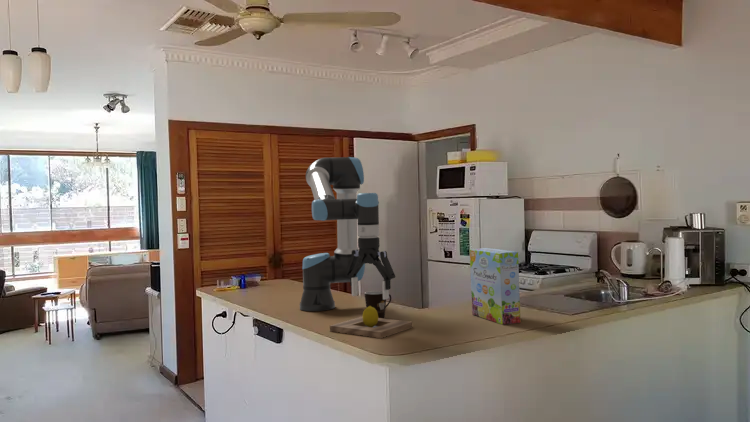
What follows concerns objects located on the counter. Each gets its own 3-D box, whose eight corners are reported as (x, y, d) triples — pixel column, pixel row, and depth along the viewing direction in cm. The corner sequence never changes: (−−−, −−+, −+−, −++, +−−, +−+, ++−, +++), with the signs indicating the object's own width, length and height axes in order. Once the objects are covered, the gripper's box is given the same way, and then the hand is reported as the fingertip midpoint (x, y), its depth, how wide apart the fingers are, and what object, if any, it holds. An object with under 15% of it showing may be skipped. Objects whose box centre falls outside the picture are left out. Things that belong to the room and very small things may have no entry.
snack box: (469, 315, 218) (467, 248, 218) (489, 313, 221) (487, 247, 221) (501, 325, 198) (499, 252, 198) (522, 323, 201) (520, 250, 201)
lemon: (378, 326, 201) (377, 304, 201) (379, 329, 196) (378, 306, 196) (362, 327, 201) (361, 304, 201) (363, 330, 196) (362, 307, 196)
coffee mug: (368, 321, 212) (367, 294, 212) (362, 317, 220) (361, 291, 220) (397, 319, 215) (397, 292, 215) (391, 315, 223) (390, 289, 223)
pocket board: (329, 331, 197) (329, 325, 197) (363, 321, 212) (363, 316, 212) (380, 338, 184) (380, 332, 184) (412, 327, 199) (412, 321, 199)
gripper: (334, 236, 202) (336, 295, 203) (391, 238, 188) (393, 302, 188) (347, 235, 208) (349, 292, 209) (404, 236, 194) (405, 298, 194)
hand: (370, 297), depth 199 cm, fingers open, 13 cm apart
